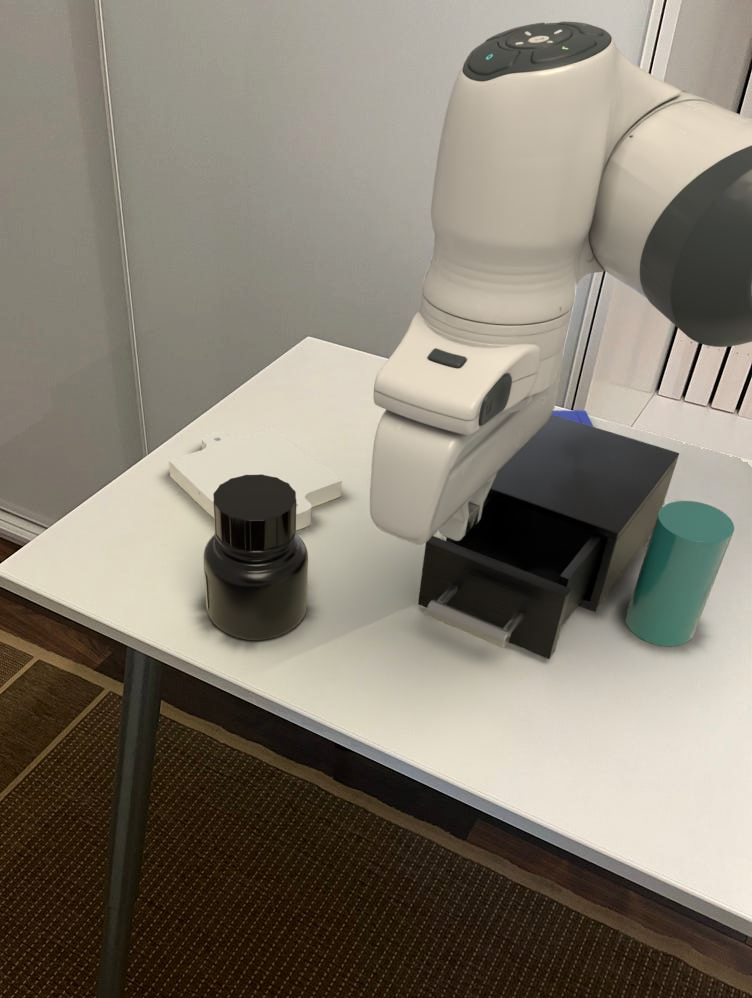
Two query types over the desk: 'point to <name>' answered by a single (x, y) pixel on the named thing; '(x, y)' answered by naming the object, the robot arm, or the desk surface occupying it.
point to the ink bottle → (255, 559)
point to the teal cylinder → (678, 572)
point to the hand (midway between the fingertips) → (459, 528)
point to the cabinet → (591, 489)
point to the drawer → (511, 576)
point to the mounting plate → (255, 469)
